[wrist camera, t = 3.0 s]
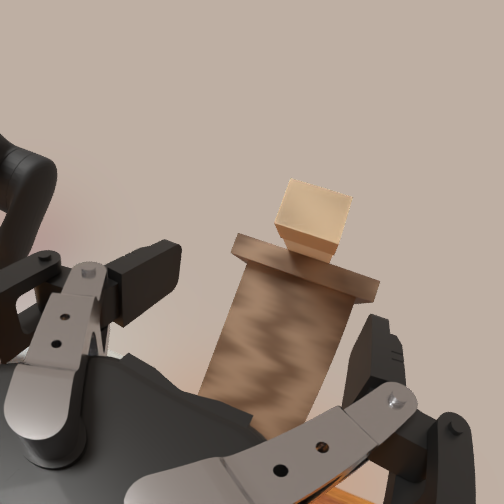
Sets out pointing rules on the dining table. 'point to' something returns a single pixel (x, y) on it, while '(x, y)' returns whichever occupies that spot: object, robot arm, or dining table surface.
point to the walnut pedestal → (281, 334)
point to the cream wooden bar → (312, 219)
